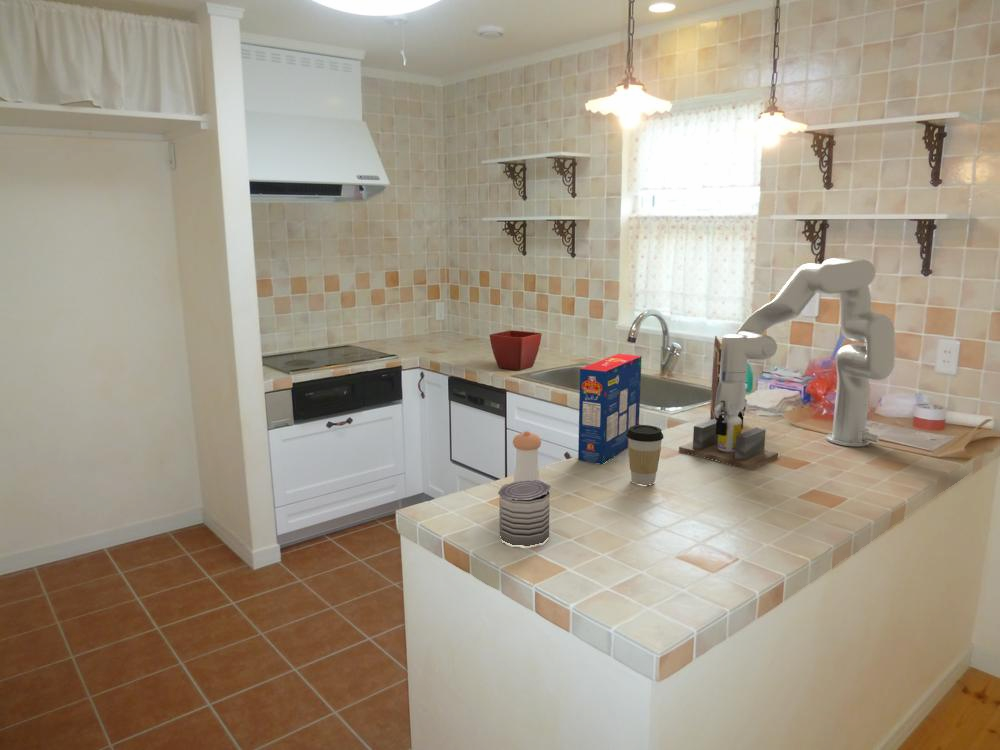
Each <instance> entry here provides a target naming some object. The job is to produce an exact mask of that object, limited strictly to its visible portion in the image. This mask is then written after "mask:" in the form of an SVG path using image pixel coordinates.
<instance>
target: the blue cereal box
mask: <svg viewBox="0 0 1000 750" xmlns="http://www.w3.org/2000/svg"><path fill="white" fill-rule="evenodd" d="M642 358H643V357H642V355H633V354H632V355H631V354H623V353H616V354H614V355H612V356H610V357H607V358H604V359H602V360H598V361H596V362H594V363H591V364H589V365H586V366H583V367H580V369H579V401H578V403H579V405H578V407H579V408H578V411H579V413H578V448H577V449H578V453H577V454H578V455H577V457H578V458H577V459H578V461H580V462H587V463H592V464H596V463H600V464H599V465H601V464H603V463H605V462H606V461H608V460H609V459H611V458H612V459H613V458H615V457H616V456H618V455H619V454H621V453H622V452H623V451H625V450H626V449H628V445H629V443H628V437H627V436H626V434H627V432H628V431H629V428H630V427H632V426H636V425H640V409H641V407H640V406H641V403H640V402H641V378H642ZM614 456H615V457H614ZM612 459H611V460H612ZM609 461H610V460H609ZM609 461H608V462H609ZM606 463H607V462H606ZM606 463H605V464H606ZM603 465H604V464H603Z"/></svg>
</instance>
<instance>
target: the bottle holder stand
mask: <svg viewBox="0 0 1000 750" xmlns="http://www.w3.org/2000/svg"><path fill="white" fill-rule="evenodd" d="M692 434H693V436H692V441H690V442H687V443H685V444H682V445H680V446H678V447H679V448H678V449H679V450H678V452H679V451H680V453H683V452H685V453H684V454H687V453H689V454H688V455H691V454H693V455H692V456H694V455H697V456H696V457H698V456H701V457H700V458H702V457H705V458H704V459H706V458H709V459H708V460H710V459H713V460H712V461H714V460H717V461H720V462H719V463H721V462H724V463H723V464H725V463H728V464H727V465H729V464H731V465H730V466H733V465H735V466H734V467H737V466H739V467H738V468H740V467H742V468H741V469H744V468H745V469H744V470H748V469H750V470H749V471H754V470H756V469H757V467H758V468H760V467H762V466H764V465H766V464H769V463H770V462H773V461H775V460H777V459H779V453H778V452H775V451H772V450H766V449H765V443H766V429H765V428H760V427H754V428H752V429H750V430H749V429H748V430H747V431H744V432H741V434H739V435H737V436H736V447H735V452H723V451H720V450H719V449H718V447H717V446H718V434H716V419H712V420H711V419H710V420H706V421H703V422H702V423H699V424H696V425H693V433H692ZM717 461H716V462H717ZM761 465H762V466H761ZM759 466H760V467H759ZM755 468H756V469H755ZM753 469H754V470H753Z"/></svg>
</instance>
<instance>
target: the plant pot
mask: <svg viewBox="0 0 1000 750" xmlns="http://www.w3.org/2000/svg"><path fill="white" fill-rule="evenodd" d="M542 335H543V334H542V333H541V332H534V331H533V332H532V331H526V330H525V331H521V330H505V331H500V332H494V333H491V334H489V341H490V345H491V350H492V353H493V356H494V359H495V362H496V364H497V368H500V369H506V370H514V371H522V370H525V369H528V368H532V367H533V366H534V364H535V361H536V359H537V356H538V352H539V350H540V346H541V345H540V344H541V341H542Z"/></svg>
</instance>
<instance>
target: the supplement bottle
mask: <svg viewBox="0 0 1000 750" xmlns="http://www.w3.org/2000/svg"><path fill="white" fill-rule="evenodd" d="M738 414H739V410H737V411H736V413H735V414H733V415H730V416H728V418H727V420H726V422H725V423H727V432H726V436H722V435H718V446H717V447H718V449H719V450H720V451H723V452H735V447H736V436H737V435H739V434H742V429H741V427H742V420H741V418H740V417H738ZM722 417H723V418H724V415H723V416H722Z"/></svg>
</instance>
